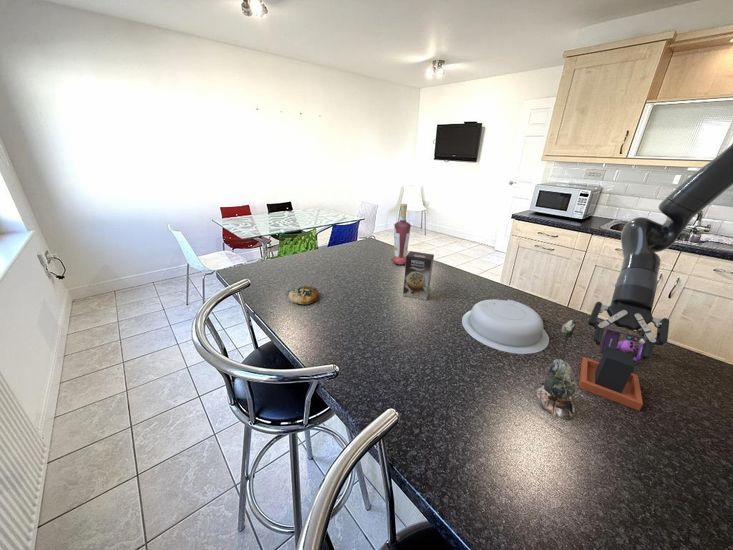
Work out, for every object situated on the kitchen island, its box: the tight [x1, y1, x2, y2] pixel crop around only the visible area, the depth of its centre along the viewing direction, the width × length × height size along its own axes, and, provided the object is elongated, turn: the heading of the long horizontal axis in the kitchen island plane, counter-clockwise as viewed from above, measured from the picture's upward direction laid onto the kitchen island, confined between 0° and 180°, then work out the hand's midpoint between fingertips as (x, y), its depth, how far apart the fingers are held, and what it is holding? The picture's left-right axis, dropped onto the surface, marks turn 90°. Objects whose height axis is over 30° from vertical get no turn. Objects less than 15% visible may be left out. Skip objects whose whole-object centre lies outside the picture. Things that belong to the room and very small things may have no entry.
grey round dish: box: [461, 299, 550, 355], centre depth 91 cm, size 25×25×6 cm
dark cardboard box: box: [402, 250, 435, 301], centre depth 108 cm, size 9×6×16 cm
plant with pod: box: [534, 319, 578, 420], centre depth 61 cm, size 8×11×20 cm
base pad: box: [578, 356, 644, 412], centre depth 70 cm, size 11×11×2 cm
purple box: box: [599, 328, 645, 364], centre depth 81 cm, size 7×5×9 cm
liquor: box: [392, 203, 412, 266], centre depth 134 cm, size 7×7×28 cm
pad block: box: [595, 347, 636, 393], centre depth 69 cm, size 5×5×8 cm
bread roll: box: [288, 285, 320, 306], centre depth 106 cm, size 11×11×5 cm
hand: (620, 351), depth 69 cm, fingers open, 8 cm apart
